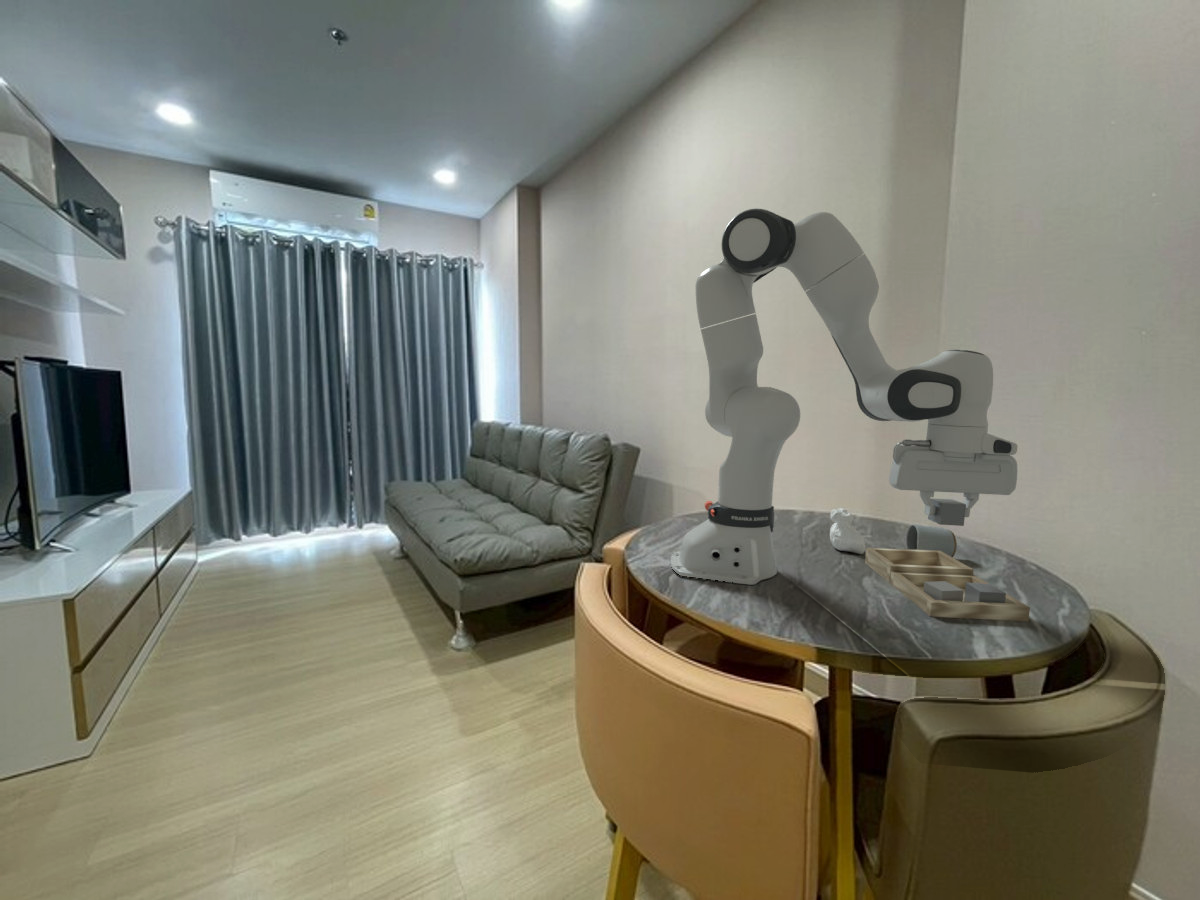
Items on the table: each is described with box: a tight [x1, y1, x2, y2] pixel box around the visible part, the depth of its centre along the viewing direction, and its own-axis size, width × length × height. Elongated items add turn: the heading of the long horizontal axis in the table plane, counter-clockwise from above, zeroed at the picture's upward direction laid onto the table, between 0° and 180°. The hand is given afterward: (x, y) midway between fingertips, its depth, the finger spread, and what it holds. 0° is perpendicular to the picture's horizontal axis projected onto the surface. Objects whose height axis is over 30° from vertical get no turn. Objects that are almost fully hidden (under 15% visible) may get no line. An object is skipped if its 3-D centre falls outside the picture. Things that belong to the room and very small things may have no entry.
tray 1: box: [864, 547, 974, 584], centre depth 101 cm, size 15×11×4 cm
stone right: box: [964, 583, 1007, 603], centre depth 84 cm, size 4×4×4 cm
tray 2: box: [889, 572, 1031, 622], centre depth 88 cm, size 15×14×3 cm
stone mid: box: [927, 497, 966, 527], centre depth 90 cm, size 4×4×4 cm
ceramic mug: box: [905, 523, 958, 558], centre depth 114 cm, size 11×8×8 cm
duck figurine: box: [829, 507, 866, 555], centre depth 118 cm, size 12×8×11 cm
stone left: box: [924, 581, 964, 601], centre depth 85 cm, size 4×4×4 cm
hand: (946, 515), depth 90 cm, fingers closed on stone mid, 4 cm apart
